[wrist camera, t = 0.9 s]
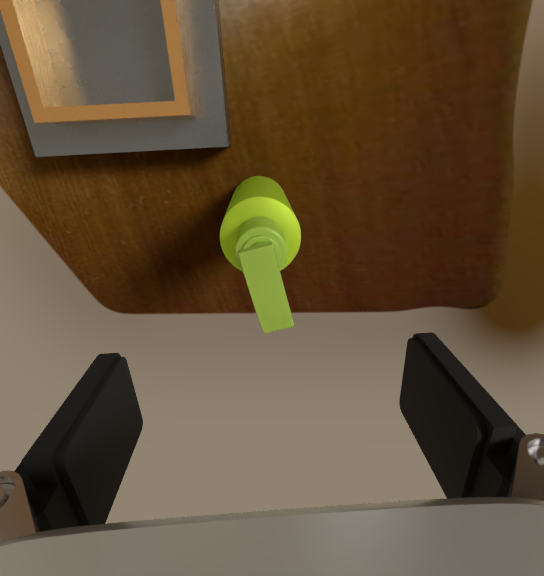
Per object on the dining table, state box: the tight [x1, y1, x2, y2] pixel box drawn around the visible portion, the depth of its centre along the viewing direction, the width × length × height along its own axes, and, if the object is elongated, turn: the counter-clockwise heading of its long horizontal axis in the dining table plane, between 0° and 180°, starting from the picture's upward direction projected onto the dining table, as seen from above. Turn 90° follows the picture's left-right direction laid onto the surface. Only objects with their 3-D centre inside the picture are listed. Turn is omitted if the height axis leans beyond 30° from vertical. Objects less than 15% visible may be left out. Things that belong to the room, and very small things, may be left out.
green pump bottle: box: [220, 176, 301, 333], centre depth 28 cm, size 6×7×20 cm
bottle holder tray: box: [0, 0, 231, 157], centre depth 27 cm, size 19×17×7 cm
